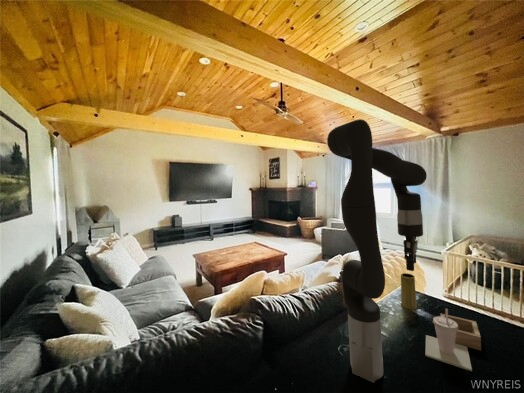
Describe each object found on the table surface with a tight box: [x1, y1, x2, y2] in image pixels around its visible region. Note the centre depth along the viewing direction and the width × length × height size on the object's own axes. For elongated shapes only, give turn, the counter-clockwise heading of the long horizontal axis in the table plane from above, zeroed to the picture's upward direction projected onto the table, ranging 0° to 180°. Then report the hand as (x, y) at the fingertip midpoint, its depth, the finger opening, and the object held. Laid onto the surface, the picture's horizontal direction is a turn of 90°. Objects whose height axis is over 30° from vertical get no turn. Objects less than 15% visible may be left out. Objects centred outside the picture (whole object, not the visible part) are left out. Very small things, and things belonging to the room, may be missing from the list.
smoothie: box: [432, 308, 458, 355], centre depth 72 cm, size 6×6×14 cm
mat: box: [424, 334, 473, 372], centre depth 72 cm, size 11×11×1 cm
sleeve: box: [439, 312, 482, 351], centre depth 79 cm, size 10×10×4 cm
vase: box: [400, 272, 418, 311], centre depth 100 cm, size 6×6×14 cm
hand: (411, 266), depth 79 cm, fingers open, 8 cm apart
